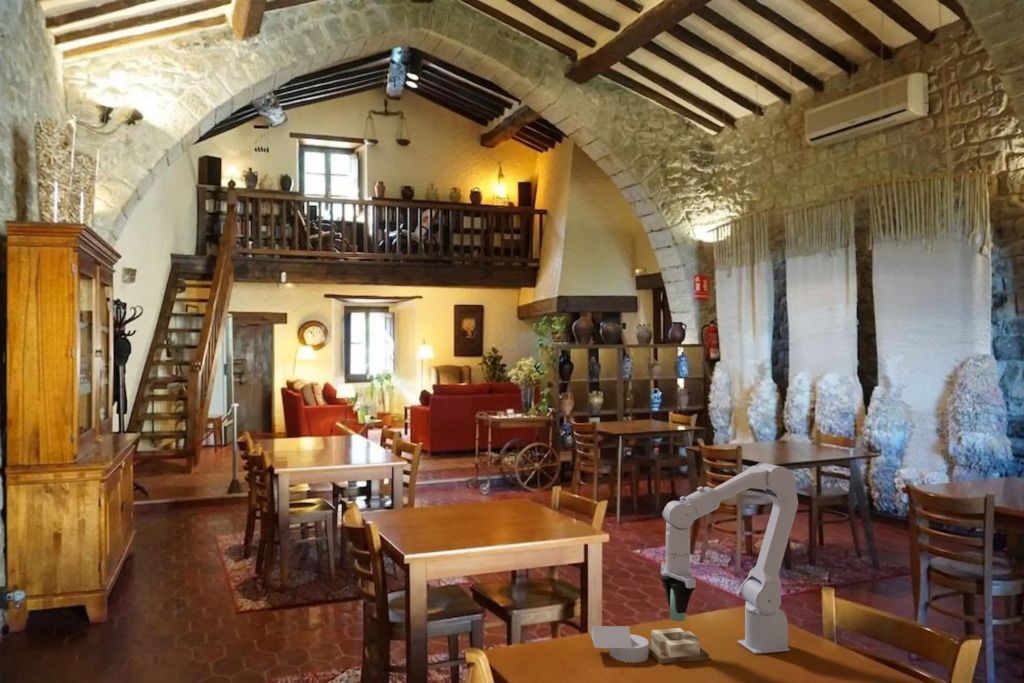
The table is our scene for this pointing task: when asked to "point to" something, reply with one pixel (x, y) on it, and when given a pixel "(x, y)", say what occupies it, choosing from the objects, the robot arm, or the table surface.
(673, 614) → the peg
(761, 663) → the table surface
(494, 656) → the table surface
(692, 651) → the socket board
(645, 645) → the wedge on round base
